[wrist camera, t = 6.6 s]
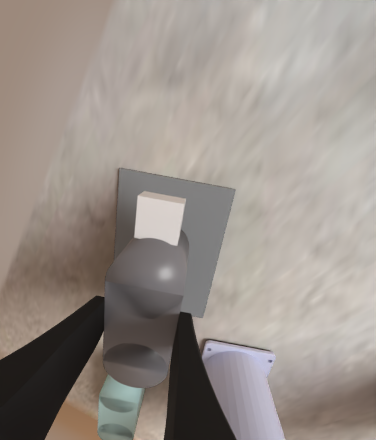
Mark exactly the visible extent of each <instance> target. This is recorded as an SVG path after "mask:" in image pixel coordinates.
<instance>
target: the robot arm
mask: <svg viewBox="0 0 376 440" xmlns="http://www.w3.org/2000/svg"><path fill="white" fill-rule="evenodd" d="M104 299H105V297H101V296H95V297H94V298H93V299H91V300H90V301H89V302H87V303H86V304H85V305H83V306H82V307H81V308H79V309H78V310H77V311H75V312H74V313H73V314H71V315H70V316H68V317H67V318H66V319H64V320H63V321H61V322H60V323H59V324H57V325H56V326H54V327H53V328H51V329H50V330H48V331H47V332H45V333H44V334H42V335H41V336H39V337H38V338H36V339H35V340H33V341H32V342H30V343H28V344H27V345H25V346H23V347H22V348H20V349H18V350H17V351H15V352H13V353H12V354H10V355H8V356H6V357H5V358H3V359H1V360H0V440H45V438H46V435H47V433H48V432H49V430H50V428H51V426H52V424H53V422H54V420H55V418H56V415H57V413H58V412H59V410H60V408H61V406H62V404H63V402H64V400H65V399H66V397H67V395H68V393H69V392H70V390H71V388H72V387H73V385H74V383H75V382H76V380H77V378H78V377H79V375H80V373H81V371H82V370H83V368H84V366H85V365H86V363H87V361H88V360H89V358H90V356H91V355H92V353H93V351H94V350H95V348H96V346H97V344H98V342H99V340H100V338H101V336H102V333H103V331H104V310H105V300H104ZM275 359H276V356H275V354H274V353H273V352H270V351H265V350H260V349H254V348H249V347H244V346H238V345H233V344H228V343H222V342H217V341H212V340H208V341H206V343H205V346H204V350H203V353H202V357H201V353H200V350H199V346H198V343H197V339H196V335H195V331H194V326H193V320H192V315H191V313H186V312H181V311H180V314H179V318H178V323H177V328H176V333H175V338H174V342H173V349H172V355H171V364H170V378H169V392H168V406H167V418H166V428H165V435H164V440H285V437H284V433H283V430H282V427H281V424H280V420H279V417H278V414H277V411H276V407H275V404H274V401H273V398H272V394H271V391H270V388H269V385H268V381H267V377H268V374H269V372H270V370H271V368H272V365H273V363H274V361H275Z"/></svg>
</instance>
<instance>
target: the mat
mask: <svg viewBox="0 0 376 440" xmlns="http://www.w3.org/2000/svg"><path fill="white" fill-rule="evenodd" d="M144 191H147V192H152V193H158V194H163V195H168V196H174V197H179V198H185V199H186V202H185V208H184V214H183V220H182V225H181V229H182V230H183V231H184V233H185V234H186V236H187V238H188V241H189V255H188V263H187V271H186V279H185V287H184V296H183V300H182V305H181V310H180V311H181V312H186V313H191V315H192V316H193V317H199V318H203V316H204V312H205V308H206V304H207V300H208V296H209V292H210V288H211V284H212V280H213V276H214V273H215V269H216V265H217V261H218V257H219V253H220V249H221V245H222V241H223V237H224V233H225V229H226V225H227V222H228V218H229V214H230V210H231V206H232V202H233V198H234V194H235V189H231V188H226V187H221V186H215V185H210V184H205V183H199V182H194V181H188V180H183V179H178V178H172V177H167V176H162V175H156V174H151V173H145V172H140V171H135V170H129V169H124V168H119V185H118V201H117V217H116V233H115V250H114V261H115V259H116V258H117V257H118V256H119V254H120V253H121V252H122V251H123V249H124V248H125V247H126V246H127V244H128V243H129V242H130V241H131V239H132V238H133V237H134V235H135V223H136V211H137V199H138V195H139V194H141V193H142V192H144Z"/></svg>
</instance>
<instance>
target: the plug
mask: <svg viewBox="0 0 376 440" xmlns="http://www.w3.org/2000/svg"><path fill="white" fill-rule="evenodd" d="M185 202H186V199H185V198H179V197H174V196H168V195H163V194H158V193H152V192H147V191H144V192H142V193H141V194H139V195H138V199H137V211H136V223H135V235H134V237H133V238H132V239H131V241H130V242H129V243H128V244H127V246H126V247H125V248H124V249H123V251H122V252H121V253H120V254H119V256H118V257H117V258H116V259H115V261H114V262H113V263H112V264H111V266H110V267H109V269H108V271H107V273H106V276H105V299H104V300H105V310H104V339H103V365H104V368H105V370H106V372H107V373H108V374H109V375H110V376H111V377H112V378H113V379H114V380H116V381H117V382H119V383H121V384H123V385H126V386H129V387H134V388H149V387H153V386H156V385H158V384H160V383H161V382H162V381H163V380H164V379H165V378H166V376H167V373H168V368H169V363H170V358H171V353H172V349H173V342H174V338H175V333H176V328H177V323H178V318H179V314H180V310H181V305H182V300H183V296H184V287H185V279H186V271H187V263H188V255H189V241H188V238H187V236H186V234H185V233H184V231H183V230H182V229H181V225H182V220H183V214H184V208H185Z"/></svg>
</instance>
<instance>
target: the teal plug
mask: <svg viewBox="0 0 376 440" xmlns="http://www.w3.org/2000/svg"><path fill="white" fill-rule="evenodd" d="M144 392H145V388H134V387H129V386H126V385H123V384H121V383H119V382H117V381H116V380H114V379H113V378H112V377H111V376H110V375H109V374H108V375H107V378H106V380H105V382H104V385H103V387H102V389H101V392H100V394H99V411H98V435H99V437H100V438H101V439H102V440H133V438H134V434H135V429H136V425H137V421H138V417H139V413H140V408H141V404H142V400H143V396H144Z"/></svg>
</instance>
